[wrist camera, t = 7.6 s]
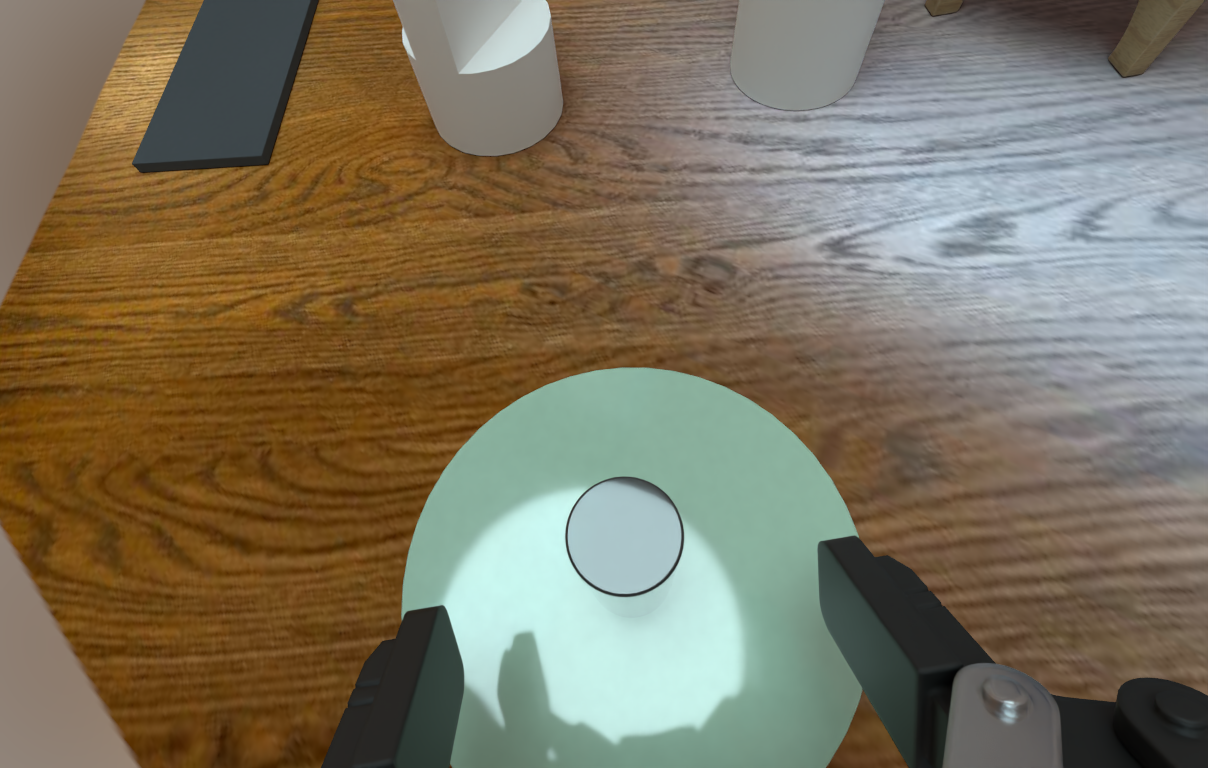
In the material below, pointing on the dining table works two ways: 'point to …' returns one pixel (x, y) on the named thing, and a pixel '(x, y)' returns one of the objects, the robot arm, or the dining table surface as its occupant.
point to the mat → (228, 86)
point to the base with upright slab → (485, 70)
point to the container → (800, 49)
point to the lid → (636, 581)
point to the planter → (1128, 30)
